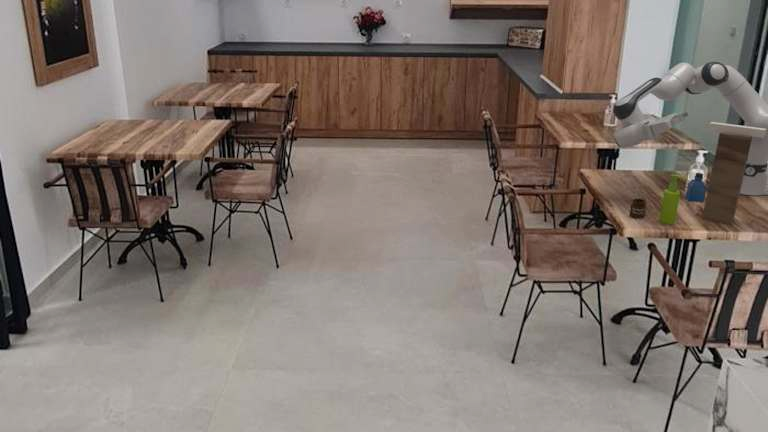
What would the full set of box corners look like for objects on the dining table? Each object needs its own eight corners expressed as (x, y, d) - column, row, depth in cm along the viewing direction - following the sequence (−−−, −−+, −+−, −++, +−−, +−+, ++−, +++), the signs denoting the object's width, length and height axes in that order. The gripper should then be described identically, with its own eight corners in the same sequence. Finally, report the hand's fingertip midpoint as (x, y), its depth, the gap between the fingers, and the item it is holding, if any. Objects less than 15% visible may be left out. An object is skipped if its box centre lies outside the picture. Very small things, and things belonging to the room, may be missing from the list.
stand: (705, 212, 278) (722, 129, 264) (734, 218, 272) (753, 133, 259) (702, 219, 271) (719, 133, 257) (731, 224, 265) (750, 137, 252)
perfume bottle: (703, 202, 290) (708, 176, 286) (688, 201, 291) (693, 175, 287) (700, 197, 296) (705, 172, 291) (685, 196, 297) (690, 171, 292)
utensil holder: (628, 213, 276) (632, 186, 271) (643, 214, 275) (648, 187, 270) (630, 218, 270) (634, 190, 266) (646, 219, 269) (651, 192, 265)
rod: (709, 129, 264) (711, 121, 263) (764, 136, 254) (766, 128, 253) (708, 130, 262) (710, 123, 261) (763, 137, 252) (765, 130, 251)
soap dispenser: (674, 226, 263) (683, 178, 256) (656, 221, 267) (665, 175, 260) (679, 221, 267) (688, 175, 260) (661, 217, 271) (670, 171, 264)
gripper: (660, 130, 283) (693, 118, 275) (649, 140, 267) (683, 127, 259) (654, 116, 283) (687, 104, 274) (643, 125, 267) (677, 113, 258)
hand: (685, 115), depth 266 cm, fingers open, 8 cm apart
